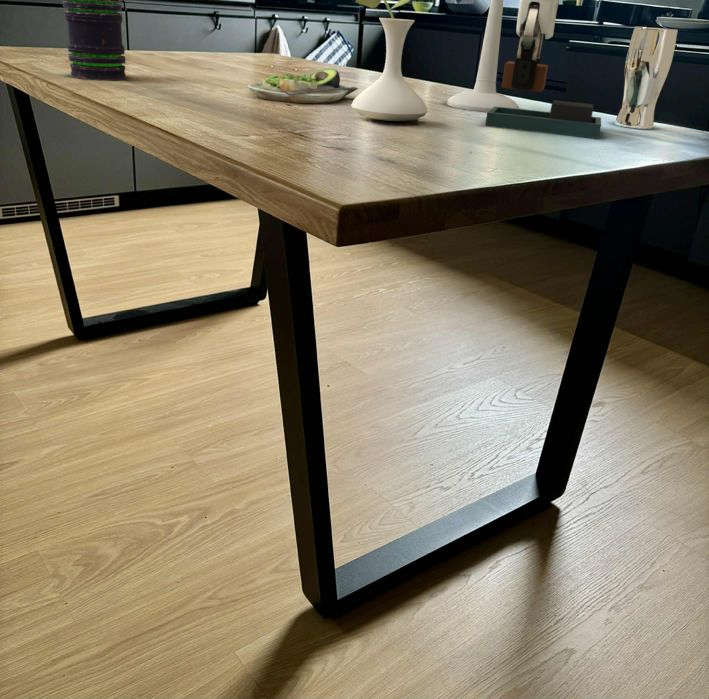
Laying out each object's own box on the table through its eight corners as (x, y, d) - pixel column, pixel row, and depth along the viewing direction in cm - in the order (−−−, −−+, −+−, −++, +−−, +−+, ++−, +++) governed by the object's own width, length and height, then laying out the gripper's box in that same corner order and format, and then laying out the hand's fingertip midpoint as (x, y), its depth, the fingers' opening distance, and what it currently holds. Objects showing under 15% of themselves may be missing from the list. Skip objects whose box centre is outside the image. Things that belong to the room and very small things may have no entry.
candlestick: (444, 108, 125) (468, -93, 112) (449, 99, 136) (470, -84, 123) (519, 114, 123) (551, -89, 110) (517, 106, 134) (546, -79, 121)
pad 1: (544, 89, 110) (548, 64, 109) (541, 92, 106) (546, 66, 104) (505, 85, 112) (508, 61, 110) (501, 87, 107) (505, 62, 106)
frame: (598, 130, 112) (601, 117, 111) (598, 138, 105) (601, 124, 104) (492, 119, 116) (494, 106, 115) (485, 126, 108) (487, 112, 108)
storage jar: (83, 80, 126) (74, -15, 119) (61, 73, 132) (51, -17, 126) (136, 79, 132) (130, -11, 125) (113, 73, 138) (106, -13, 132)
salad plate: (338, 109, 114) (339, 78, 112) (231, 99, 117) (231, 68, 114) (361, 97, 131) (363, 70, 129) (268, 88, 134) (268, 61, 132)
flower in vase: (439, 121, 109) (461, -67, 98) (401, 129, 100) (420, -77, 90) (368, 110, 115) (381, -68, 104) (326, 116, 107) (335, -78, 96)
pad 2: (588, 128, 111) (593, 104, 109) (588, 132, 106) (593, 107, 105) (549, 123, 112) (553, 100, 110) (547, 127, 108) (551, 103, 106)
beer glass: (656, 131, 116) (680, 30, 109) (611, 126, 118) (633, 26, 111) (654, 125, 122) (677, 29, 115) (612, 121, 124) (632, 26, 117)
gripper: (571, -53, 92) (544, 95, 100) (575, -44, 107) (551, 85, 115) (513, -57, 94) (491, 89, 102) (524, -47, 109) (505, 80, 117)
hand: (523, 85), depth 109 cm, fingers closed on pad 1, 5 cm apart
